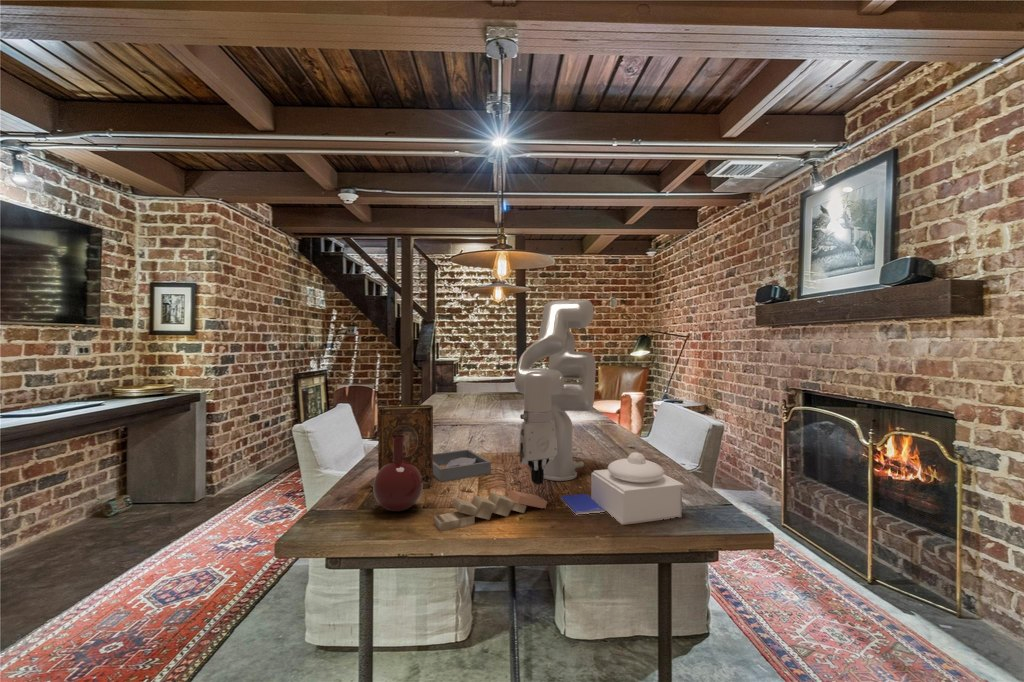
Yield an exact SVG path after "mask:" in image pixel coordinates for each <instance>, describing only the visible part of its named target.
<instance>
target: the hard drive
mask: <svg viewBox="0 0 1024 682" xmlns="http://www.w3.org/2000/svg"><path fill="white" fill-rule="evenodd" d="M561 499H562V500H563V501H564V502H565V503H566V504H565V503H564V502H563V501H562V500H561ZM560 500H561V501H562V502H563V503H564V504H565V505H566V506H567V505H568V507H569V508H570V509H571V510H572V511H573V512H574V513H575V514H576V515H578V514H589V513H600V512H605V510H604V509H603V508H602V507H601V506H599V505H598V504H597V503H596V502H595V501H594V500H593V499H592V498H591V496H590V495H588V493H587V494H586V493H584V494H583V493H582V494H569V495H561V496H560ZM568 507H567V508H568ZM569 508H568V509H569ZM570 509H569V510H570ZM571 510H570V511H571ZM572 511H571V512H572ZM573 512H572V513H573ZM574 513H573V514H574ZM605 513H606V512H605ZM575 514H574V515H575ZM600 514H601V513H600ZM576 515H575V516H576ZM589 515H590V514H589ZM578 516H579V515H578Z"/></svg>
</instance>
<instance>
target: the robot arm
mask: <svg viewBox="0 0 1024 682" xmlns="http://www.w3.org/2000/svg"><path fill="white" fill-rule="evenodd" d="M542 312H543V313H542V317H541V323H540V327H539V332H538V337H537V339H536V340H535V341H534V342H533V343H531V345H529V346H528V347H527V348H526V349H525V350H524V351H523V353H522V354H521V355H520V357H519V360H518V363H517V366H516V371H515V376H514V377H515V378H514V386H515V389H516V390H517V392H518V393H520V394H522V395H523V406H524V407H523V413H520V415H519V417H520V419H521V420H523V421H521V426H520V432H519V441H518V454H519V463H520V464H522V465H526V466H528V467H529V468H530V470H531V471H530V473H531V476H530V477H531V481H532V483H534V484H535V485H543V484H544V479H545V480H549V481H553V482H554V481H555V482H556V481H557V482H565V481H570V480H574V479H576V478H577V476H578V472H577V471H576V469H577V468H583V467H584V466H585V463H584V461H576V460H573V422H572V420H571V418H570V416H569V415H568V413H567V412H568V411H569V412H571V411H572V412H589V411H591V410H592V409H593V408H594V403H595V389H596V387H595V386H596V373H597V372H596V371H597V370H596V367H597V366H596V365H597V364H596V359H595V357H594V355H593V353H591V352H588V351H576V350H575V349H576V339H575V337H574V335H573V333H572V332H571V331H570V330H569V329H585V328H587V327H589V325H591V323H592V322H593V320H594V313H595V311H594V306H593V303H592V302H591V301H590V300H588V299H573V300H570V299H565V300H564V299H560V300H559V299H557V300H552V301H548V302H546V304H545V305H544V306H543V311H542ZM548 357H549V359H548V369H545V368H531V367H532V366H533V365H534V364H535V363H536V362H538V361H541V360H543V359H545V358H548ZM565 380H574V381H565ZM575 380H579V381H580V382H578V381H575Z"/></svg>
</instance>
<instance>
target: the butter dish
mask: <svg viewBox="0 0 1024 682" xmlns="http://www.w3.org/2000/svg"><path fill="white" fill-rule="evenodd" d="M590 477H591V478H590V479H591V480H590V483H591V485H590V486H591V489H590V492H591V493H590V498H592V499H593V500H594V501H595V502H596V503H597V504H598V505H600V506H601V507H602V508H603V509H604V510H605V511H607V512H608V513H609V514H610V515H611V516H610V515H609V514H608V513H607V512H606V513H607V514H608V515H609V516H610V517H612V518H613V517H614V518H615V519H616V520H615V519H614V518H613V519H614V520H615V521H617V522H618V523H619V524H621V525H622V526H624V525H625V526H626V525H633V524H642V523H646V522H653V521H654V522H655V521H661V520H663V519H664V520H670V518H671V519H676V518H675V517H679V518H683V517H682V516H683V508H682V507H683V506H682V505H683V488H685V484H684V483H682V482H680V481H679V480H676V479H674V478H672V477H670V476H668V475H666V474H665V471H664V468H663V467H662V466H661V465H659V464H658V463H655V462H654V461H651V460H648V459H646V457H645V456H644V455H643V454H642V453H641V452H634V451H633V452H631V453H630V454H629V455H628V457H627V458H620V459H617V460H614V461H612V462H611V463H610V464H608V466H607V469H596V470H593V472H591V474H590Z"/></svg>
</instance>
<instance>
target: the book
mask: <svg viewBox="0 0 1024 682" xmlns="http://www.w3.org/2000/svg"><path fill="white" fill-rule="evenodd" d="M377 424H378V425H377V426H378V428H377V430H378V433H377V434H378V435H377V436H378V440H377V444H378V448H377V449H378V452H377V453H378V455H377V456H378V459H377V463H378V464H377V466H378V469H377V470H378V471H379V470H380V469H381V468H382V467H383V466H384V465H386V464H388V463H390V462H392V461H393V438H392V437H393V436H396V435H402V436H404V438H403V461H407V462H410V463H412V464H413V465H414V466H416V467H417V469H418V470H419V471H420V473H421V476H422V479H423V488H426V489H431V488H430V487H432V486H434V476H433V454H434V405H431V404H420V405H419V404H418V405H415V404H414V405H411V404H410V405H388V406H387V405H385V406H383V405H382V406H380V407H379V410H378V421H377ZM378 471H377V472H378ZM432 488H433V487H432Z"/></svg>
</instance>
